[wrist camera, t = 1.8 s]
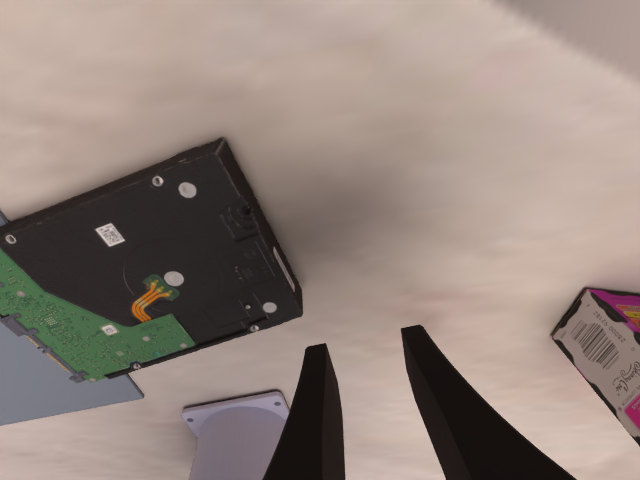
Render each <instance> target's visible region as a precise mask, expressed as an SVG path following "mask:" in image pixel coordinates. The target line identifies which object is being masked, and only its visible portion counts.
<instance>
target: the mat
mask: <svg viewBox="0 0 640 480" xmlns="http://www.w3.org/2000/svg"><path fill="white" fill-rule="evenodd" d="M7 223H9V222H8V220H7V219H6V218H5V216H4V215H3V214H2V213H1V211H0V226H2V225H5V224H7ZM0 318H1V317H0ZM43 350H44V349H43V348H41V349H37V346H36V345H35V344H33V343H32V342H31V341H30V340H28V339H27V338H26V335H22V336H19V337H18V336H17V335H16V334H14V333H13V332H12V331H11V330H10V329H8V328H7V327H5V326H4V325H3V324H2V323H1V322H0V426H2V425H7V424H12V423H17V422H22V421H28V420H33V419H38V418H43V417H48V416H54V415H59V414H64V413H69V412H74V411H80V410H85V409H90V408H95V407H100V406H106V405H111V404H116V403H121V402H126V401H132V400H137V399H142V398H144V395H143V393H142V392H141V391H140V390H139V388H138V387H137V386H136V385H135V383H134V382H133V381H132V379H131V378H130V377H129V376H128V374H126V375H122V376H119V377H115V378H112V379H107V378H105V379H102V380H99V381H96V382H92V383H90V382H89V381H88V380H84V381H83V382H79V383H75V382H74V381H71V380H70V379H69V378H70V377H71V376H73V374H72V373H71V372H67V371H65V370H64V369H63V368H62V367H61V366H60V365H58V364H57V363H56V362H55V361H54V360H52V359H51V358H50V357H49V356H47V355H46V354H44V353H42V351H43Z"/></svg>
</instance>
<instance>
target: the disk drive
mask: <svg viewBox="0 0 640 480" xmlns="http://www.w3.org/2000/svg"><path fill="white" fill-rule="evenodd" d="M302 315H303V303H302V289H301V287H300V286H299V284H298V281H297V280H296V279H295V276H294V274H293V273H292V270H291V268H290V265H289V263H288V261H287V260H286V257H285V256H284V254H283V252H282V250H281V248H280V246H279V244H278V242H277V240H276V238H275V236H274V234H273V232H272V230H271V228H270V226H269V224H268V223H267V221H266V218H265V216H264V214H263V213H262V211H261V209H260V206H259V204H258V202H257V200H256V198H255V197H254V194H253V192H252V190H251V189H250V187H249V185H248V183H247V181H246V179H245V177H244V175H243V173H242V172H241V171H240V168H239V167H238V165H237V163H236V161H235V159H234V156H233V154H232V152H231V150H230V148H229V146H228V144H227V142H226V140H224V139H223V138H220V139H218V140H217V141H215V142H211V143H210V144H206V145H203V146H201V147H198V148H194V149H191V150H188V151H186V152H183V153H180V154H178V155H176V156H174V157H172V158H171V159H168V160H166V161H164V162H161V163H159V164H156V165H154V166H151V167H148V168H146V169H144V170H140V171H138V172H136V173H134V174H131V175H129V176H126V177H123V178H121V179H119V180H116V181H114V182H112V183H109V184H107V185H104V186H101V187H99V188H97V189H94V190H92V191H90V192H88V193H85V194H82V195H80V196H77V197H74V198H72V199H69V200H66V201H64V202H61V203H59V204H57V205H54V206H52V207H49V208H47V209H44V210H41V211H39V212H36V213H34V214H32V215H29V216H27V217H24V218H21V219H17V220H15V221H11V222H9V223H7V224H5V225H2V226H0V317H1V318H0V322H1V323H2V324H3V325H4V326H5V327H7V328H8V329H10V330H11V331H12V332H13V333H14V334H16V335H17V336H18V337H19V336H22V335H26V338H27V339H28V340H30V341H31V342H32V343H33V344H35V345H36V346H37V349H41V348H43V349H44V350H43V351H42V353H44V354H46V355H47V356H49V357H50V358H51V359H52V360H54V361H55V362H56V363H57V364H58V365H60V366H61V367H62V368H63V369H64V370H65V371H67V372H71V373H72V374H73V376H71V377H70V378H69V379H70V380H71V381H74V382H75V383H79V382H83V381H84V380H88V381H89V382H90V383H92V382H96V381H99V380H102V379H105V378H107V379H112V378H115V377H119V376H122V375H126V374H127V373H130V372H132V371H135V370H138V369H141V368H145V367H148V366H151V365H154V364H158V363H161V362H164V361H167V360H170V359H173V358H176V357H178V356H182V355H186V354H188V353H192V352H196V351H198V350H200V349H203V348H207V347H210V346H213V345H216V344H220V343H223V342H225V341H229V340H231V339H234V338H238V337H241V336H244V335H247V334H250V333H254V332H256V331H260V330H264V329H268V328H271V327H274V326H276V325H280V324H282V323H284V322H287V321H290V320H292V319H295V318H298V317H301V316H302Z"/></svg>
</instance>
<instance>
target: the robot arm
mask: <svg viewBox="0 0 640 480" xmlns="http://www.w3.org/2000/svg"><path fill="white" fill-rule="evenodd" d="M401 333H402V341H403V348H404V355H405V363H406V370H407V373H408V377H409V380H410V384H411V387H412V391H413V394H414V398H415V401H416V403H417V406H418V409H419V411H420V414H421V416H422V419H423V421H424V424H425V427H426V429H427V432H428V434H429V437H430V439H431V442H432V444H433V447H434V449H435V452H436V454H437V457H438V459H439V462H440V465H441V467H442V470H443V472H444V475H445V478H446V480H577V479H575V478H574V477H573V476H572V475H570V474H569V473H568V472H567V471H565V470H564V469H563V468H562V467H560V466H559V465H558V464H556V463H555V462H554V461H553V460H551V459H550V458H549V457H548V456H546V455H545V454H544V453H543V452H541V451H540V450H539V449H538V448H537V447H535V446H534V445H533V444H532V443H531V442H530V441H528V440H527V439H526V438H525V437H524V436H523V435H521V434H520V433H519V432H518V431H517V430H516V429H515V428H514V427H513V426H511V425H510V424H509V423H508V422H507V421H506V420H505V419H504V418H503V417H502V416H501V415H499V414H498V413H497V412H496V411H495V410H494V409H493V408H492V407H491V406H490V405H489V404H488V403H487V402H486V401H485V400H484V399H483V398H482V397H481V396H480V395H479V394H478V393H477V392H476V391H475V390H474V389H473V387H472V386H471V385H470V384H469V383H468V382H467V381H466V380H465V379H464V378H463V377H462V375H461V374H460V373H459V372H458V371H457V370H456V369H455V368H454V366H453V365H452V364H451V363H450V362H449V361H448V359H447V358H446V357H445V356H444V354H443V353H442V352H441V351H440V349H439V348H438V347H437V346H436V344H435V343H434V342H433V340H432V339H431V338H430V336H429V335H428V333H427V332H426V330H425V329H424V327H423V326H421V325H415V326H410V327H405V328H401ZM181 417H182V419H183V420H184V421H185V423H186V424H187V425H188V427H189V428H190V430H191V431H192V432H193V434H194V435H195V436H196V438H197V439H198V442H197V447H196V451H195V455H194V459H193V463H192V467H191V472H190V476H189V480H345V461H344V439H343V419H342V408H341V401H340V394H339V388H338V382H337V378H336V375H335V372H334V368H333V365H332V362H331V358H330V355H329V352H328V348H327V345H326V343H324V344H319V345H313V346H308V347H307V348H306V349H305V355H304V361H303V365H302V370H301V374H300V378H299V382H298V385H297V389H296V392H295V395H294V399H293V402H292V405H291V409H290V411H289V409H288V406H287V404H286V402H285V400H284V397H283V395H282V394H281V393H280V392H270V393H265V394H260V395H254V396H249V397H244V398H238V399H233V400H228V401H223V402H217V403H212V404H207V405H201V406H196V407H191V408H186V409H184V410H182V414H181Z"/></svg>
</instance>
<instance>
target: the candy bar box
mask: <svg viewBox="0 0 640 480" xmlns="http://www.w3.org/2000/svg"><path fill="white" fill-rule="evenodd" d="M552 339H553V340H554V342H555V343H556V344H557V345H558V347H559V348H560V349H561V350H562V351H563V353H564V354H565V355H566V356H567V358H568V359H569V360H570V361H571V362H572V363H573V365H574V366H575V367H576V368H577V370H578V371H579V372H580V373H581V374H582V376H583V377H584V378H585V380H586V381H587V382H588V383H589V384H590V386H591V387H592V388H593V389H594V391H595V392H596V393H597V394H598V396H599V397H600V398H601V399H602V400H603V401H604V403H605V404H606V405H607V406H608V408H609V409H610V410H611V411H612V413H613V414H614V415H615V416H616V418H617V419H618V420H619V421H620V423H621V424H622V425H623V427H624V428H625V429H626V430H627V432H628V433H629V434H630V435H631V436H632V438H633V439H634V440H635V441H636V442H637V443H638V445H639V446H640V295H637V294H628V293H620V292H611V291H602V290H593V289H586V290H585V291H584V292H583V293H582V295H581V296H580V297H579V299H578V300H577V301H576V303H575V304H574V306H573V307H572V309H571V310H570V311H569V313H568V314H567V315H566V316H565V317H564V319H563V320H562V322H561V323H560V324H559V325H558V327H557V329H556V330H555V332H554V333H553V335H552Z"/></svg>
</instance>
